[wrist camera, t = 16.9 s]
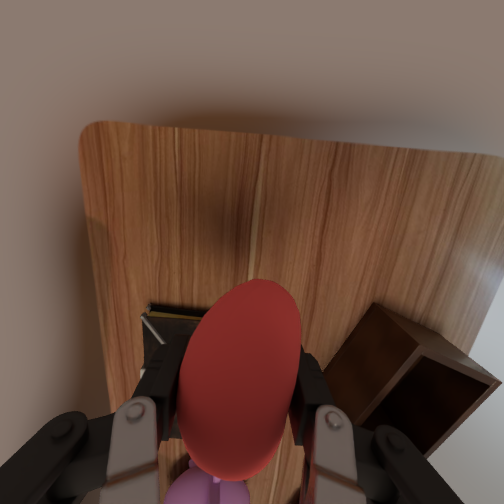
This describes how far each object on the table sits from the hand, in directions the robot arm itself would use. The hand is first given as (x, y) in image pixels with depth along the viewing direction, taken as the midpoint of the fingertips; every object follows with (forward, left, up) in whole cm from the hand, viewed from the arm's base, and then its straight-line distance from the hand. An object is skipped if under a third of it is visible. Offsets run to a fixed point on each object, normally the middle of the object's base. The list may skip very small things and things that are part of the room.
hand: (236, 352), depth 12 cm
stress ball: (0, 0, -1) cm, 1 cm away
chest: (+17, +23, -19) cm, 34 cm away
